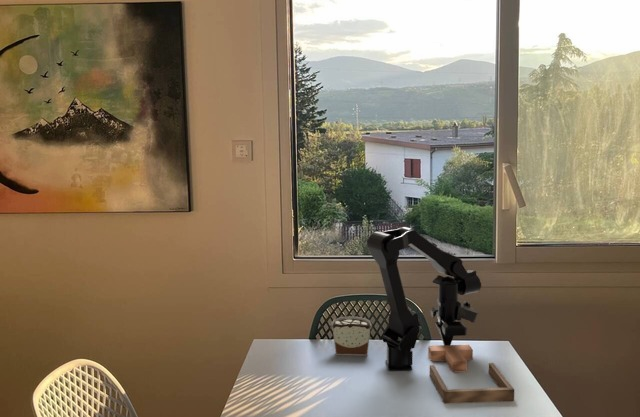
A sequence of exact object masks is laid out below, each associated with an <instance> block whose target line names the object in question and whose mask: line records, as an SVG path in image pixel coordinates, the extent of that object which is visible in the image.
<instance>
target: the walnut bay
mask: <svg viewBox="0 0 640 417" xmlns="http://www.w3.org/2000/svg"><path fill="white" fill-rule="evenodd" d="M488 375H489V376H490V377H491V379H492V380H493V381H494V383H495V384H496V386H497V387H486V388H485V387H483V388H482V387H481V388H453V389H452V388H451V389H450V388H449V389H448V387H447V385H446V384H445V382H444V380H443V378H442V376H441V374H440V373H439V371H438V370H437V368H436V366H435V364H429V377H430V379H431V381H432V382H433V385H434V387H435V389H436V391H437V393H438V394H439V396H440V398H441V400H442V402H443V404H455V403H456V404H463V403H464V404H465V403H466V404H467V403H469V404H470V403H490V402H491V403H493V402H494V403H495V402H514V401H515V388H514V387H513V386H512V385H511V383H510V382H509V381H508V380H507V379H506V377H505V376H504V375H503V373H502V371H500V370H499V368H498V367H497V366H496V364H494V362H489V363H488Z"/></svg>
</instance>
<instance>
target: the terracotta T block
mask: <svg viewBox="0 0 640 417" xmlns="http://www.w3.org/2000/svg"><path fill="white" fill-rule="evenodd" d="M427 350H428V353H427V354H428V355H427V356H428V358H429V359H430V361H432V362H433V361H434V362H436V361H437V362H438V361H439V362H440V361H441V362H442V361H445V363H446V365H447V366H448V368H449V369H450V371H451V372H452V373H456V372H457V373H459V372H460V373H462V372H464V373H465V372H467V369H468V366H467V364H468V360H471V361H472V360H473V357H474V356H473V354H474V353H473V352H474V350H473V348H472V347H471V345H470V344H451V345H444V344H443V345H442V344H441V345H428V348H427Z"/></svg>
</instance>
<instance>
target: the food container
mask: <svg viewBox="0 0 640 417" xmlns="http://www.w3.org/2000/svg"><path fill="white" fill-rule="evenodd" d="M330 329H332V332H333V334H332V335H333V342H334V350H335V355H336V356H366V355H367V356H368V355H369V354H368V353H369V345H370V344H369V343H370V334H371V329H373V324H372V323H371V321H370V319H367V318H364V317H361V316H342V317H338V318H335V319H334V320H333V321H332V322H331V324H330Z"/></svg>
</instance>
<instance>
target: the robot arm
mask: <svg viewBox="0 0 640 417" xmlns="http://www.w3.org/2000/svg"><path fill="white" fill-rule="evenodd" d="M366 244H367V249H368V251H369V253H370V255H371V257H372V258H373V259H374V261H375V262H376V263H377V265H378V267H379V270H380V274H381V278H382V282H383V285H384V289H385V293H386V297H387V301H388V304H389V309H390V313H389V315H388V326H387V328H386V329H385V330H384V331H383V333H382V334H381V339H382V341H383V343H386V359H385V364H386V366H387V369H388V370H389V371H408V370H409V371H411V370H412V369H413V367H412V366H413V350H412V349H415V346H416V343H417V341H418V336H419V334H420V331H421V329H420V327H421V326H422V325H421V323H420V321H419V314H418V313H417V312H416V311H413V310H411V309H409V306H408V303H407V298H406V295H405V290H404V287H403V283H402V279H401V274H400V271H399V267H398V259H399V256H400V251H401V250H403V249H405V248H407V247H408V246H409V247H410V248H412V249H413V250H414V251H416V252H418V253H419V254H420V255H421V256H423V257H424V258H426V259H427V260H428V261H429V262H430V264H431V266H432V267H433V268H434V270H436V271H437V272H438V273H440V274H444V275H445V276H442V275H439V274H438V275H437V276H436V277H435V278H434V279H433V280H432V284H434V285H437V286H438V291H437V292H438V293H437V294H438V296H437V298H436V303H437V306H433V307H431V308H430V317H431V318H432V319H435V318H437V321H435V323H434V324H435V326H436V328H437V329H436V330H438V333H439V335H440V338H441V341H442V344H443V345H452V341H453V339H454V337H459V336H462V337H463V336H467V333H468V332H467V331H468V330H467V329H468V328H467V327H466V325H465V324H464V323H462V319H463V320H466V321H468V322H471V323H472V324H474V323H476V321H477V318H478V314H479V312H478V311H477V310H476V309H475V308H473V307H472V306H471V303H470V302H469V301H466V300H463V301H462V302H460V301H459V295H461V296H464V295H468V294H474V293H478V292H479V291H481V288H482V282H481V279H480V277H479V275H477V271H476V270H473V269H468V270H466V268H465V266H464V265H463V260H462V258H460V257H458V256H456V255H453V254H451V253H448V252H447V251H443V250H442V249H440V248H438V246H436V245H435V244H434V243H432V242H431V241H430V240H428V239H426V237H424V236H423V235H421V234H420V233H419V232H418V231H417V230H416V229H415V228H411V227H407V226H402V227H398V228H397V229H396V228H395V229H389V230H385V231H374V232H372V233H371V234H370V235H369V237H368V238H367V241H366ZM446 275H447V276H446Z"/></svg>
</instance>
